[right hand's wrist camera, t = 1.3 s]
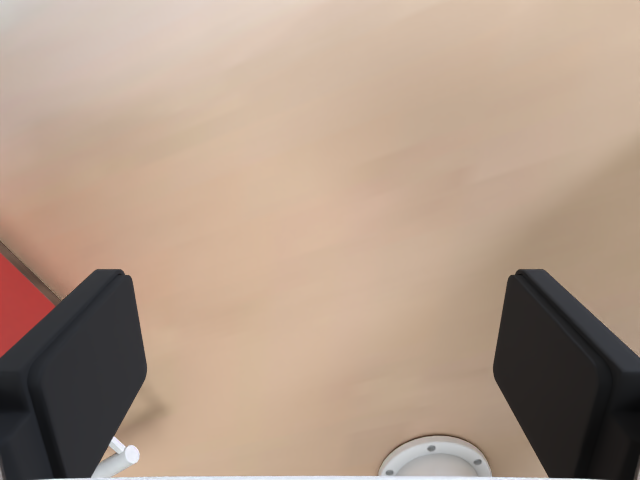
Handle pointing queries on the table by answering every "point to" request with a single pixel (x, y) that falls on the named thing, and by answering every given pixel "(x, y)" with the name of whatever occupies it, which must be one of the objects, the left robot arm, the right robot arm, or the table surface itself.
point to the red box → (20, 300)
